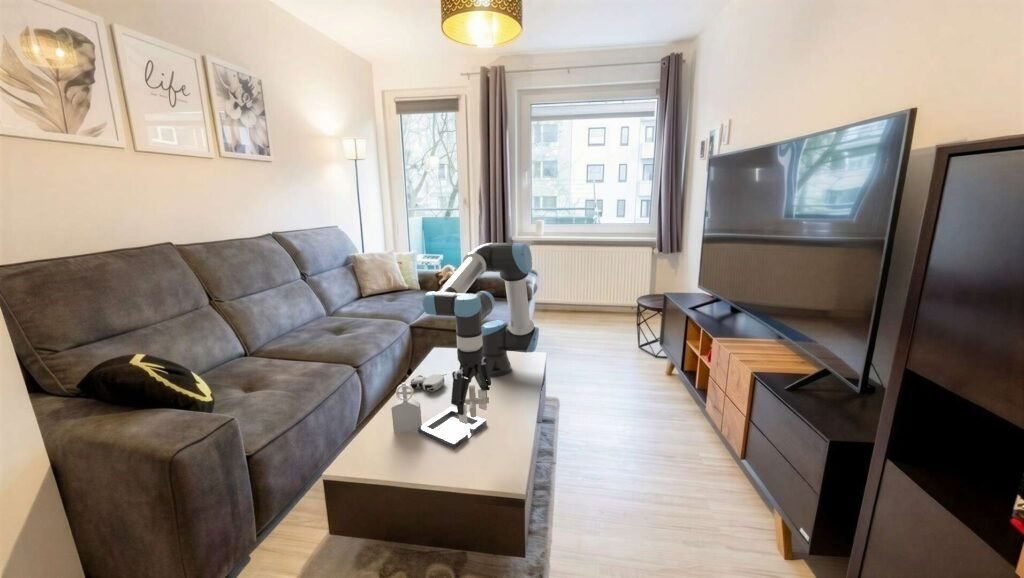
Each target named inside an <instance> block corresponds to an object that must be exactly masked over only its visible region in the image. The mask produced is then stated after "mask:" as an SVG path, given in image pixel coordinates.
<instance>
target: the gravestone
mask: <svg viewBox="0 0 1024 578" xmlns="http://www.w3.org/2000/svg"><path fill="white" fill-rule="evenodd" d="M406 387H407V388H409V389H406ZM399 389H401V390H399ZM408 394H409V396H408ZM395 395H396V397H397V398H398V400H397V401H396V402H394V403H393V404H392V407H391V417H392V419H391V420H392V428H393V433H407V432H409V433H410V432H418V427H420V426H422V425H423V424H422V411H421V410H422V409H421V403H420V402H419V401H417V400H413V399H411V398H412V397H413V395H414V389H413V388H412V387H411V386H410V384H408V383H406V382H401V384H399V385H398V386H397V388H396V390H395ZM401 395H402V396H401Z"/></svg>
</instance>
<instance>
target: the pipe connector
mask: <svg viewBox="0 0 1024 578" xmlns="http://www.w3.org/2000/svg"><path fill="white" fill-rule="evenodd" d="M468 394H469V395H468V396H469V397H468V398H467V397H466V399H465V404H467V406H468V405H469V408H468V411H469V413H470V417H471V418H475V417H476V416H477V405H479V404H486V403H487V404H490V397H488V396H487V397H483V398H478V397H477V395H476V386H475V385H469V386H468Z"/></svg>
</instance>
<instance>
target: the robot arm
mask: <svg viewBox="0 0 1024 578" xmlns="http://www.w3.org/2000/svg"><path fill="white" fill-rule="evenodd" d="M532 268H533V256H532V252H531V249H530V247H529V246H528V245H527V244H526V243H523V242H522V243H519V242H486V243H483V244H481V245H478V246H476V247H475V248H473V249H471V250H470V251H469V252H468V253H467V254H466V255H464V258H463V260H462V263H461V265H459V267H458V268H457V269H456V270H454V271H455V272H453V274H452V275H451V276H450V277H449V278H448V279H447V280H446V281H445V282H444V284H442V286H441V287H440V288H439V289H438V291H435V290H433V291H427V292H426V293H425V294H424V296H423V299H422V308H423V311H424V313H425V314H427V315H429V316H431V315H432V316H436V317H437V316H442V317H454V319H455V331H456V332H455V334H456V347H457V350H456V352H457V361H458V362H459V369H458V370H457V371H452V390H451V399H450V400H451V401H450V403H451V405H454V406H455V407H456V408H457V413H458V414H459V422H461V423H463V424H465V425H466V424H468V423H467V413H468V408H467V406H468V405H467V404H465V399H467V393H468V391H469V386H470V383H471V382H472V379H473V378H475V380H476V382H477V384H478V387H479V388H478V389H477V398H483V397H488V391H490V386H492V380H491V377H501V376H505V375H507V374H509V372H511V370H512V369H511V368H512V366H511V362H510V360H509V356H508V353H507V352H520V353H534V352H535V351H536V349H537V345H538V341H539V340H538V339H539V334H540V333H539V332H540V330H539V329H540V328H539V326H535V323H534V321H533V320H532V319H531V317H530V316H531V315H530V308H529V299H528V298H529V297H528V290H527V282H526V279H527V277H528V276H529V274H530V272H531V271H532V270H533V269H532ZM488 272H490V273H492V272H493V273H499V277H500V279H501V280H503V281H504V284H505V286H504V287H505V292H506V299H507V305H508V313H509V320H510V322H509V323H508V324H507V322H506V321H505V320H502V319H495V320H491V321H488V322H484V323H483V324H482V322H483V320H484V319H485V318H486V317H488V316H489V315H490V314H491V313H492V310H494V308H495V305H496V301H495V300H496V299H495V298H494V295H493V294H491V293H490V292H489V291H486V290H480V291H477V292H476V293H468V292H467V291H468V290H469V288H471V286H472V285H473V284H474V283H475V281H476V279H477V278H478V277H480V276H483V274H484V273H488ZM487 404H488V403H486V404H478V408H479V409H480V410H483V411H487V410H488V405H487Z"/></svg>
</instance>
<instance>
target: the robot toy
mask: <svg viewBox="0 0 1024 578" xmlns="http://www.w3.org/2000/svg"><path fill="white" fill-rule="evenodd" d="M445 376H447V373H444V374H431V375H429V376H428V377H425V376H423V375H417V376H415V377H414V378H412V379H411V380H410V384H409V385H410V386H411V387H412V388H413V390H414V389H420V388H421V389H423V390H424V391H426V392H427V391H429V392H435V391H438V390H439V389H440V388H442V387H443V385H444V384H445V383H446V382H445V381H446V380H445ZM406 389H407V390H410V389H409V388H407V387H406Z"/></svg>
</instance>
